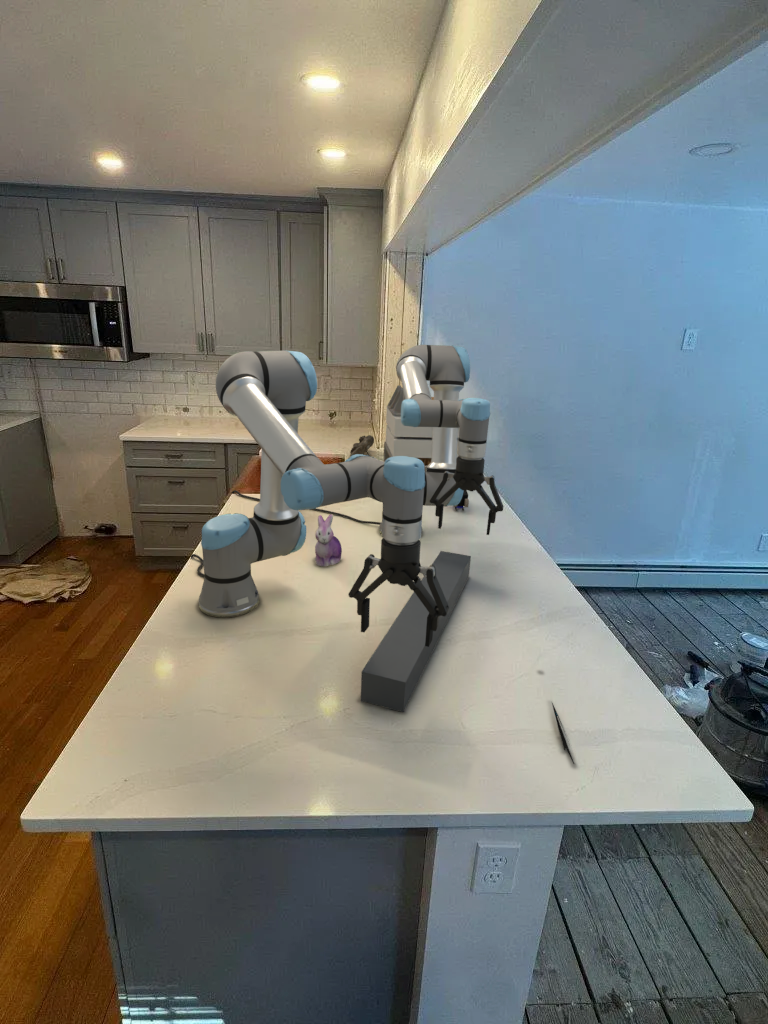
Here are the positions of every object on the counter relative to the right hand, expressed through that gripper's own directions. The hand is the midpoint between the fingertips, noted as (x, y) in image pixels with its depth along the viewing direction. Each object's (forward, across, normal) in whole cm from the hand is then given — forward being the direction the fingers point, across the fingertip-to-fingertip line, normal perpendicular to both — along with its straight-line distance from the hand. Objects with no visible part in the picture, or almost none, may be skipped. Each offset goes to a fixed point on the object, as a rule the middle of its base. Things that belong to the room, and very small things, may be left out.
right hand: (463, 530), depth 160 cm
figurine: (+17, -41, +2) cm, 44 cm away
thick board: (+17, -5, -27) cm, 32 cm away
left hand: (+4, -7, -53) cm, 53 cm away
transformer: (+16, -33, +112) cm, 117 cm away
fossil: (+16, -69, +135) cm, 153 cm away
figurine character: (+16, -9, +68) cm, 71 cm away
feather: (+17, +26, -51) cm, 60 cm away
